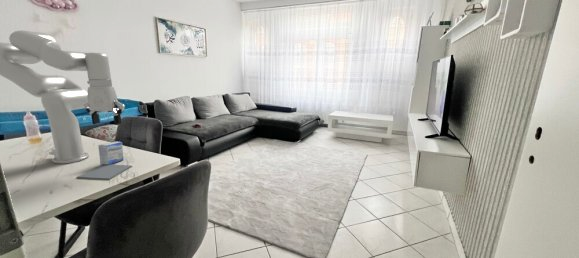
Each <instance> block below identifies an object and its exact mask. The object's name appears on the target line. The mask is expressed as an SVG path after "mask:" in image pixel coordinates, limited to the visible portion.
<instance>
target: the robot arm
mask: <svg viewBox="0 0 579 258" xmlns="http://www.w3.org/2000/svg"><path fill="white" fill-rule="evenodd" d="M8 38H9V39H8V40H9V42H0V76H1V77H3V78H4V79H7V80H9V81H11V82H12V83H14V84H15V85H17V86H18V87H19V88H21V89H22V90H24V91H26V92H27V93H28V94H29V95H31V96H34V97H36V98H41V99H40V100H41V105H42V107H43V108H44V110H45V113H46V116H47V119H48V123H49V128H50V132H51V133H50V134H51V137H52V141H53V146H54V148H53V149H52V150H51V151H49V153H48V154H49V155H51V156H54V157H53V158H52V159H51V162H52V163H54V164H57V165H58V164H71V163H76V162H80V161H83V160H85V159H88V157H90V154H89V153H88V152H85V150H84V146H83V141H82V135H81V129H80V128H81V127H80V123H79V122H80V121H79V119H78V118H77V116H76V115H75V114H74V113H73V112H72V111H76V110H81V109H82V110H83V109H85V111H86V112H88V114H89V115H90V116H91V121H92V125H97V124H100V123H101V120H100V115H99V113H98V112H112V114H113V115H112V116H113V121H114V122H113V123H114V126H115V125H117V126H118V125H121V124H122V117H121V115H122V114H123V113H124V111H125V108H126V105H125V104H124V103H122V102H120V101H119V100H118V96H117V93H116V89H115V87H114V86H113V83H112V76H111V70H110V64H109V63H110V62H109V57H108V55H107V54H106V53H103V52H81V51H80V52H79V51H71V50H69V51H67V50H62V48H61V46H60V44H59V43H58V42H57V41H56V39H55V38H54V37H53V36H51V35H50V34H47V33H45V32H44V33H43V32H36V31H30V30H16V31H14V32H12V33H10V34H9V37H8ZM40 62H43V63H44V64H46V65H47V66H49V67H51V68H55V69H58V70H60V71H65V72H86V73H87V78H88V80H87V84H88V85H89V86H88V87H87V90H86V89H85V88H83V87H81V86H80V85H78V84H77V83H75V82H74V81H73V80H71V79H70V78H68V77H65V76H63V75H57V74H55V75H51V74H50V75H46V74H40V73H38V72H36V71H35V70H33V69H32V68H30V67H28V66H27V65H33V64H38V63H40Z"/></svg>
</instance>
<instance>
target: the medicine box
mask: <svg viewBox="0 0 579 258" xmlns="http://www.w3.org/2000/svg"><path fill="white" fill-rule="evenodd" d="M123 149H124V148H123V142H122V141H111V142H107V143H106V142H105V143H103V144H98V156H99V165H102V164H107V165H114V164H115V163H118V162H122V161H123V160H124V150H123Z"/></svg>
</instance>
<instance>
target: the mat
mask: <svg viewBox="0 0 579 258" xmlns="http://www.w3.org/2000/svg"><path fill="white" fill-rule="evenodd" d="M132 167H133V165H129V164H128V165H127V164H110V165H107V164H99V165H98V166H96V167H94V168H92V169H90V170H87V171H86V172H84V173H81V174H79V175H77V176H76V179H85V180H86V179H87V180H103V181H104V180H105V181H106V180H107V181H108V180H109V181H110V180H112V179H113V178H115V177H116V176H119V175H120V174H122V173H124V172H126V171H128V170H129V169H131V168H132Z"/></svg>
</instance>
